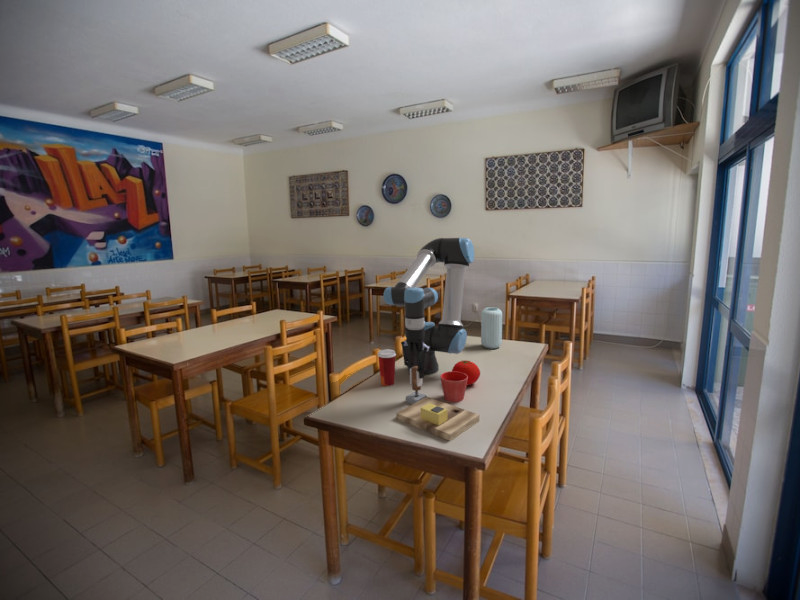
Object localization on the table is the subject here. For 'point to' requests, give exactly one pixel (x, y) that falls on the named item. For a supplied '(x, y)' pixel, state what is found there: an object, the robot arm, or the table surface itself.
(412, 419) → the subfloor panel
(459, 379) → the flower pot
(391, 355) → the coffee cup
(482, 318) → the vase
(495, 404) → the table surface
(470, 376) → the tomato
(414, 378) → the brown rounded cylinder
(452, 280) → the robot arm
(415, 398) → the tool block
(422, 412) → the block
